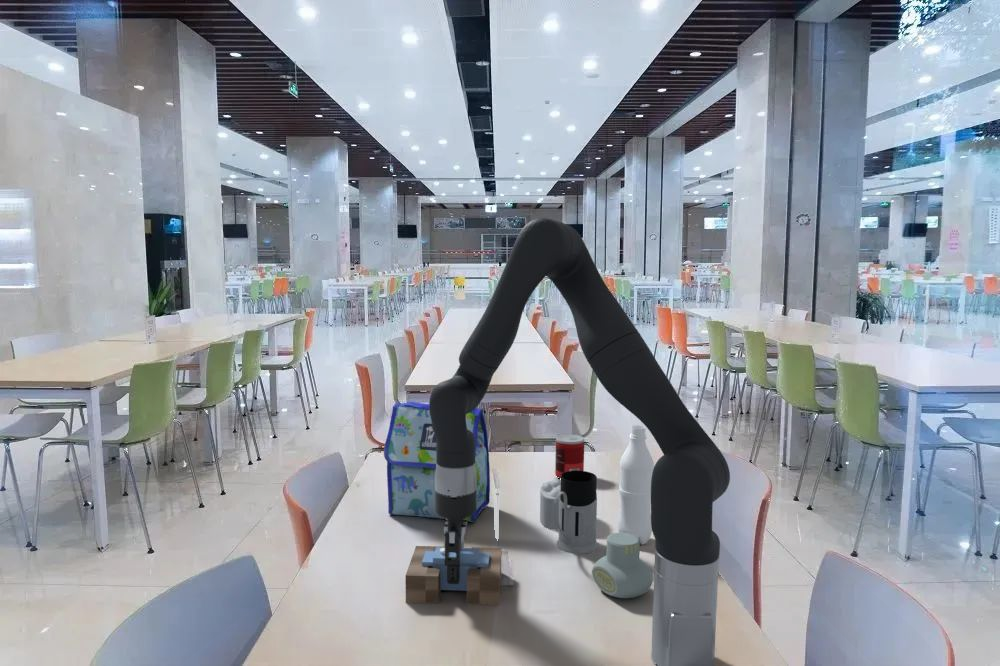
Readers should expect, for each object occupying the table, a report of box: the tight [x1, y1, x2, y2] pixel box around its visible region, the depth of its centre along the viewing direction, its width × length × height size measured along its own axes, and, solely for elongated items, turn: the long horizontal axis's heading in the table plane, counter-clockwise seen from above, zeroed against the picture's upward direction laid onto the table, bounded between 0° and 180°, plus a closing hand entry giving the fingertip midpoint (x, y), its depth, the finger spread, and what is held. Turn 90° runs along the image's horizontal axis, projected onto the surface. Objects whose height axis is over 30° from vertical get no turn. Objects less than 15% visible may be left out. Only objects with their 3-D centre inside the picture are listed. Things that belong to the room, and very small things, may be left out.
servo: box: [422, 546, 490, 592], centre depth 124 cm, size 4×12×7 cm, turn 88°
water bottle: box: [617, 424, 655, 545], centre depth 143 cm, size 7×7×25 cm
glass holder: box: [554, 470, 599, 555], centre depth 139 cm, size 9×14×15 cm, turn 146°
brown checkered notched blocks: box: [405, 545, 503, 606], centre depth 124 cm, size 12×16×5 cm
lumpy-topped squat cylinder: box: [539, 477, 561, 531], centre depth 156 cm, size 10×13×9 cm
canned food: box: [554, 434, 585, 478], centre depth 185 cm, size 8×8×11 cm
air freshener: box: [591, 532, 654, 599], centre depth 123 cm, size 11×8×10 cm
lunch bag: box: [383, 401, 491, 523], centre depth 159 cm, size 22×17×26 cm
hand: (455, 571), depth 124 cm, fingers open, 8 cm apart
